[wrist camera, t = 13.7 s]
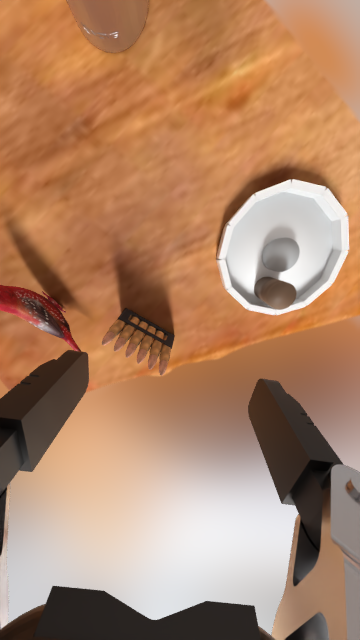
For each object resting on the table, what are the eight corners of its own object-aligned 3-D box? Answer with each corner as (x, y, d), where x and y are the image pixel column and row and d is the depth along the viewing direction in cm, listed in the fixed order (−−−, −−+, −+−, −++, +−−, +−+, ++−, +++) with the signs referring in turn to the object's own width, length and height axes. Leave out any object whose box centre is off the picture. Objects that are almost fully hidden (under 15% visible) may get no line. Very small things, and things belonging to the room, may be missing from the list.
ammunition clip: (121, 315, 36) (93, 346, 25) (125, 307, 35) (99, 335, 24) (169, 342, 38) (163, 382, 27) (174, 335, 37) (170, 373, 26)
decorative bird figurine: (29, 268, 33) (-32, 276, 24) (105, 338, 38) (78, 368, 28) (20, 278, 34) (-43, 290, 25) (95, 346, 38) (66, 378, 29)
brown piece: (258, 274, 32) (273, 279, 26) (280, 279, 32) (301, 285, 27) (250, 297, 34) (263, 306, 28) (272, 301, 34) (289, 311, 28)
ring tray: (237, 173, 28) (242, 167, 25) (359, 202, 29) (374, 198, 26) (205, 298, 34) (207, 302, 32) (305, 318, 35) (313, 322, 33)
